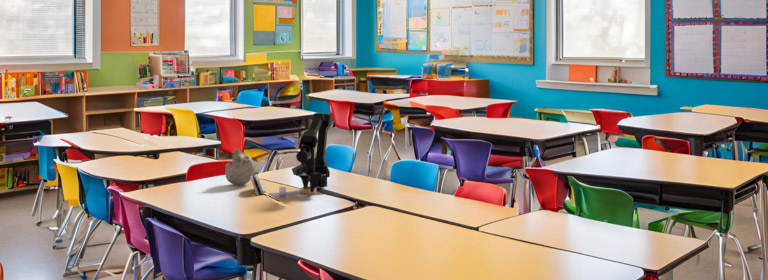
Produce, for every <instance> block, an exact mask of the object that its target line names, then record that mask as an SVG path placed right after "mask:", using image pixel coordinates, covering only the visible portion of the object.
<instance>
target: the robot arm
mask: <svg viewBox="0 0 768 280" xmlns="http://www.w3.org/2000/svg"><path fill="white" fill-rule="evenodd" d="M333 121H334V117H333V115H331V113H323V112H314V114H313V118H312V120H311V123H310V125H309V127H308V129H307V130H305V131H304V132H303V133H302V134H301V137H300V139H299V143H298V147H297V148H298V149H299V151H298V152H297V153H296V155H295V158H296V160H297V162H298V163H300V164H299V165H296V166H294V167H292V168H291V171H292V174H293V175H294V176H295V177H299V178H300V179H301V181H302V185H303V186H302V187H307V186H310V190H311V192H313V191H314V189H315V187H316V188H325V187H328V178H330V176H331V171H330V169H329V166H328V161H327V160H326V152H327V151H326V150H327V141H328V132H329V130H330V128H331V127H332V123H333ZM315 150H316V154H315Z"/></svg>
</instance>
